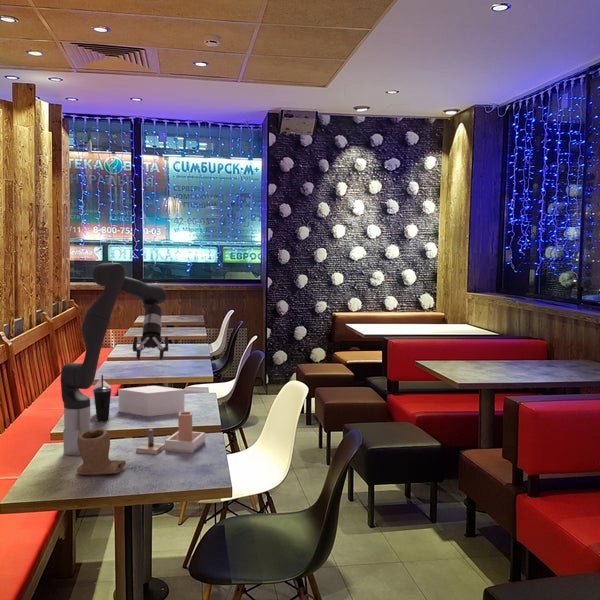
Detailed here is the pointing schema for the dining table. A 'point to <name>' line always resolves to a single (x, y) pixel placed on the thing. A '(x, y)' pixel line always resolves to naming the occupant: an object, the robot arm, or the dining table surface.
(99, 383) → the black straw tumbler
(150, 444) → the stake
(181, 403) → the block
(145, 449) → the stake board
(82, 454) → the brown hollow piece
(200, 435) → the tray
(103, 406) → the drinking cup
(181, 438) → the sleeve
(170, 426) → the dining table surface
